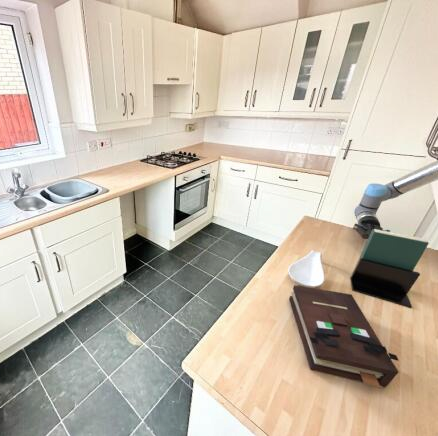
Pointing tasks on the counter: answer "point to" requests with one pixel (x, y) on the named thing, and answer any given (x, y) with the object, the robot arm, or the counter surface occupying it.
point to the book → (394, 249)
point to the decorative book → (340, 337)
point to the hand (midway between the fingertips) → (378, 247)
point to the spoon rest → (308, 270)
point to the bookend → (383, 281)
